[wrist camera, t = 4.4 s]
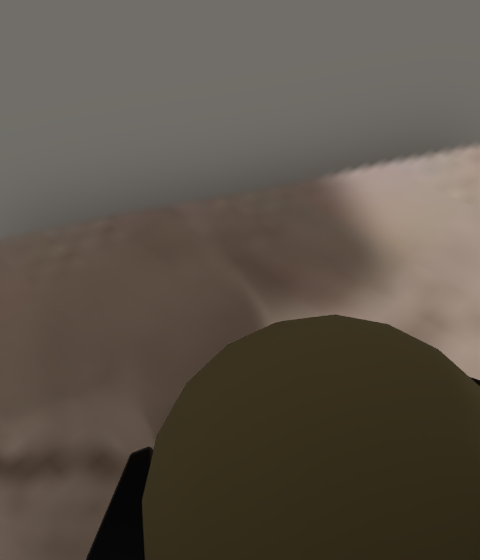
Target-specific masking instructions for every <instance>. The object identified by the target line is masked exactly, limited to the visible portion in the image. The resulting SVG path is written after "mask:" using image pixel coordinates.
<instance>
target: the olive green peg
mask: <svg viewBox="0 0 480 560" xmlns="http://www.w3.org/2000/svg"><path fill="white" fill-rule="evenodd" d="M142 513H143V533H144V552H145V560H480V386H479V385H478V384H476V383H475V382H474V381H473V380H472V379H471V378H470V377H469V376H467V375H466V374H465V373H464V372H463V371H462V370H461V369H460V368H459V367H457V366H456V365H455V364H454V363H453V362H452V361H451V360H450V359H448V358H447V357H446V356H445V355H444V354H443V353H442V352H441V351H439V350H438V349H436V348H434V347H432V346H430V345H428V344H426V343H424V342H422V341H420V340H418V339H416V338H414V337H412V336H410V335H408V334H406V333H404V332H402V331H400V330H398V329H396V328H394V327H392V326H390V325H388V324H384V323H378V322H373V321H367V320H362V319H356V318H351V317H345V316H340V315H328V316H320V317H312V318H304V319H296V320H288V321H281V322H277V323H274V324H272V325H269V326H267V327H265V328H263V329H261V330H259V331H257V332H255V333H252V334H250V335H248V336H246V337H244V338H242V339H240V340H238V341H235V342H233V343H231V344H229V345H227V346H226V347H225V348H224V349H223V350H222V351H221V352H220V353H219V354H218V355H216V356H215V357H214V358H213V359H212V360H211V361H210V362H209V363H208V364H207V365H206V366H205V367H204V368H203V369H202V370H200V371H199V372H198V373H197V374H196V375H195V376H194V377H193V378H192V379H191V380H190V381H189V382H188V383H187V384H186V386H185V387H184V389H183V391H182V393H181V395H180V396H179V398H178V400H177V402H176V403H175V405H174V407H173V409H172V410H171V412H170V414H169V416H168V417H167V419H166V421H165V423H164V424H163V426H162V428H161V430H160V431H159V433H158V435H157V438H156V442H155V447H154V451H153V455H152V460H151V464H150V468H149V472H148V477H147V481H146V485H145V490H144V494H143V498H142Z"/></svg>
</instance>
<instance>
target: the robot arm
mask: <svg viewBox="0 0 480 560" xmlns="http://www.w3.org/2000/svg"><path fill="white" fill-rule="evenodd" d="M470 378H471V377H470ZM471 379H472V380H473V381H474V382H475V383H476V384H478V385H479V386H480V380H477V379H474V378H471ZM152 455H153V449H152V448H151V447H146V448H143V449H141V450H138V451H136V452H133V453H132V454H131V455H130V456H129V459H128V461H127V463H126V466H125V468H124V470H123V473H122V475H121V478H120V480H119V482H118V485H117V487H116V489H115V492H114V494H113V497H112V499H111V501H110V504H109V506H108V509H107V511H106V513H105V516H104V518H103V520H102V523H101V525H100V528H99V530H98V532H97V535H96V537H95V540H94V542H93V544H92V547H91V549H90V551H89V554H88V556H87V559H86V560H145V552H144V533H143V513H142V498H143V494H144V490H145V485H146V481H147V477H148V472H149V468H150V464H151V460H152Z"/></svg>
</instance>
